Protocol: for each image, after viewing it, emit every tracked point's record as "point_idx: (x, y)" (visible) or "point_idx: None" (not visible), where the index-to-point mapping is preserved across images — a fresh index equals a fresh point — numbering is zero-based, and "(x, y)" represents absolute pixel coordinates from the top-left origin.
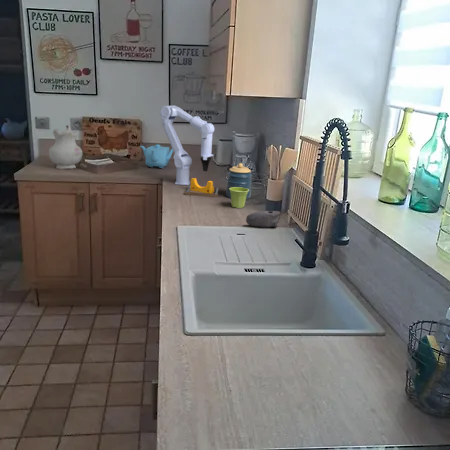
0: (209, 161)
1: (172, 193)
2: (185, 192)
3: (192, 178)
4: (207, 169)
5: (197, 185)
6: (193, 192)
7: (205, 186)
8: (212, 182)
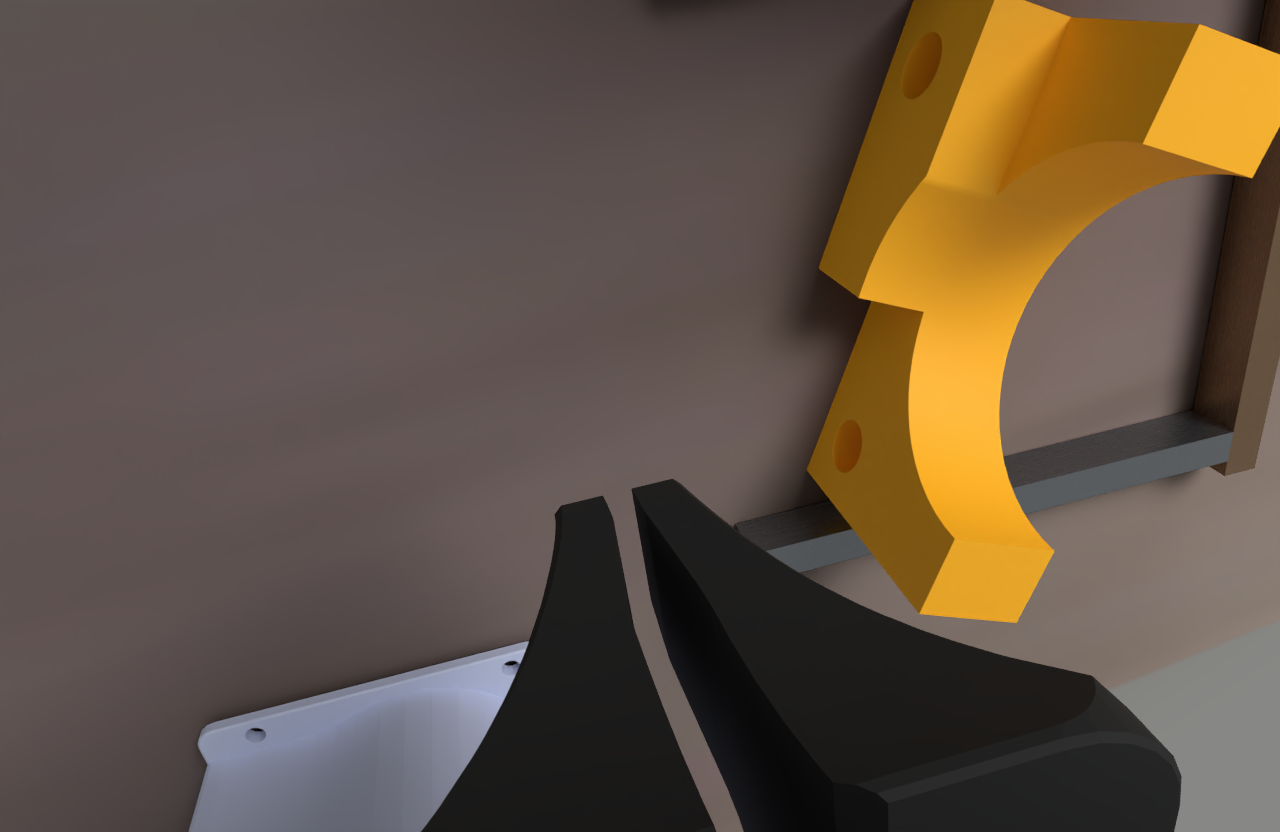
0: (1034, 673)
1: (1151, 617)
2: (1249, 459)
3: (976, 609)
4: (696, 500)
5: (964, 409)
6: (1276, 338)
7: (1119, 201)
8: (1199, 32)
